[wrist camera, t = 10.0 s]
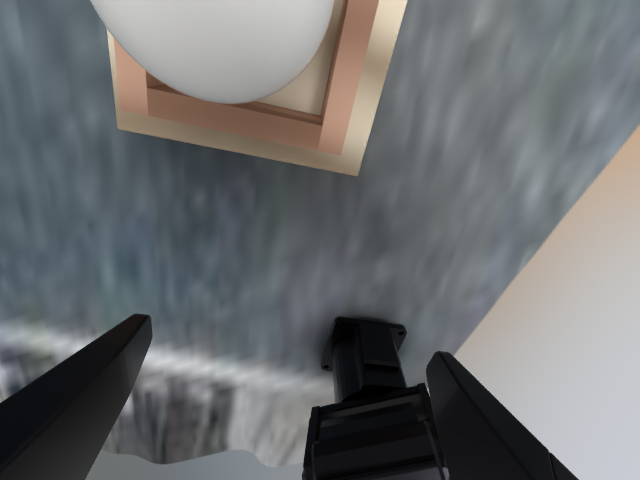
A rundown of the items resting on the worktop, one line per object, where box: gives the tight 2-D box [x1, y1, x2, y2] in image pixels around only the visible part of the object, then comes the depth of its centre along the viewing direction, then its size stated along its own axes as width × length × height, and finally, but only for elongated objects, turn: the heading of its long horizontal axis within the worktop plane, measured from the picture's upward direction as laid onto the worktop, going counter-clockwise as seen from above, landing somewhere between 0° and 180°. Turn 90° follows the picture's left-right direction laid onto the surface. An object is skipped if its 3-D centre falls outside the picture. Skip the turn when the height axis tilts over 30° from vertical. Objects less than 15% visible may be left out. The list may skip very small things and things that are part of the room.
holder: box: [107, 0, 407, 176], centre depth 14 cm, size 14×14×4 cm
